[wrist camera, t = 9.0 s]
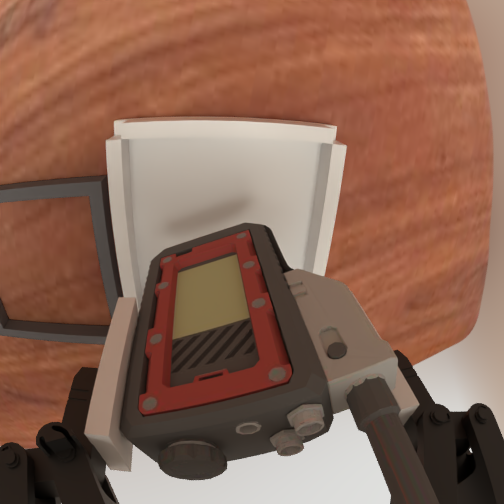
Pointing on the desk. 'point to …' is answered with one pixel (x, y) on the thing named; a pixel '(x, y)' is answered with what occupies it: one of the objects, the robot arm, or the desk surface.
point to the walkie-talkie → (257, 363)
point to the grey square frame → (105, 248)
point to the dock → (221, 186)
